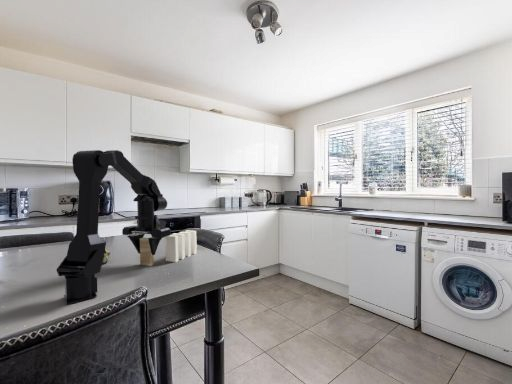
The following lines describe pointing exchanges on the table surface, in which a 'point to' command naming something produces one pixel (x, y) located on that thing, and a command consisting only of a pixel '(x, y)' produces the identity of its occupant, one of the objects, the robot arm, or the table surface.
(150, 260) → the domino
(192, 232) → the domino
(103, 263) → the rock
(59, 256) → the table surface
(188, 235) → the domino
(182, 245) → the domino
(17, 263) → the table surface
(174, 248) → the domino
